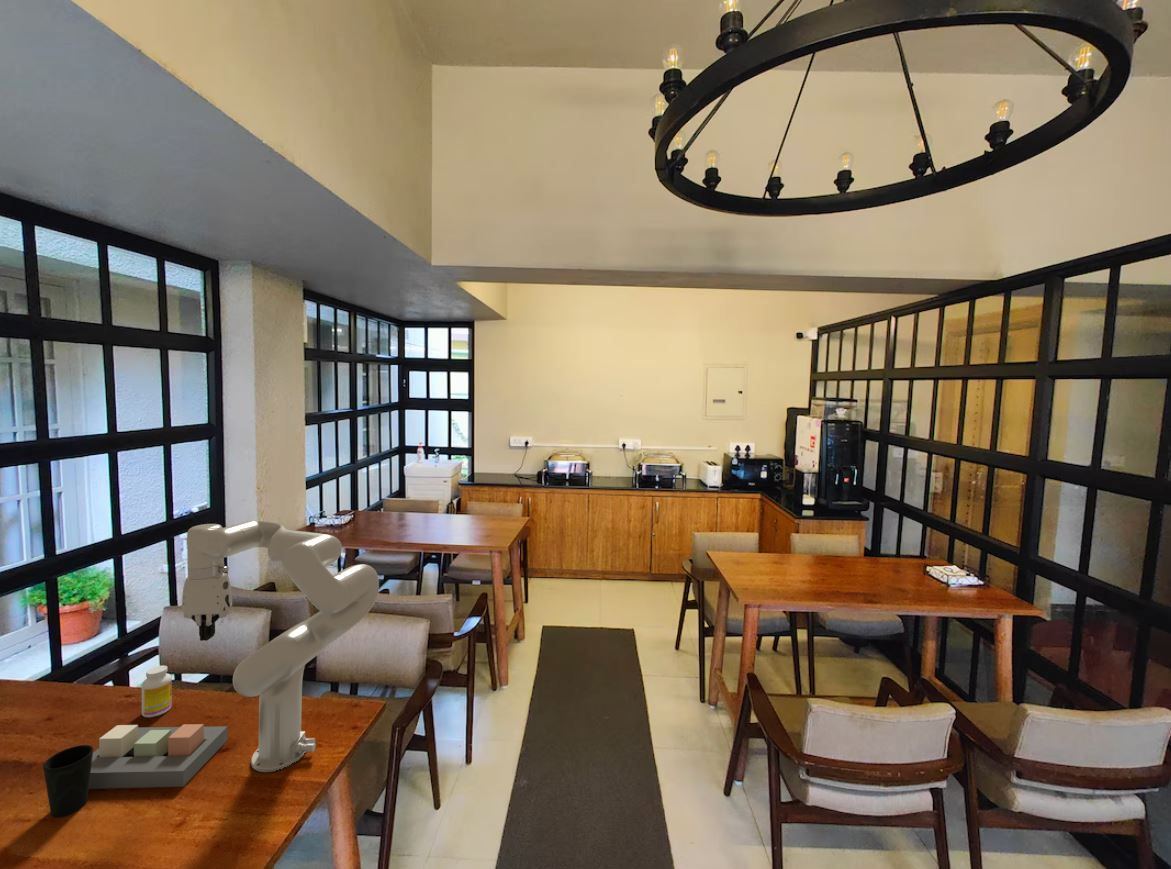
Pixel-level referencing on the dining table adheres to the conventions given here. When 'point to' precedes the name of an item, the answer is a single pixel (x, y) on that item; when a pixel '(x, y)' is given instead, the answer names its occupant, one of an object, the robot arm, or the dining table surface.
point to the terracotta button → (186, 740)
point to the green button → (152, 744)
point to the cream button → (118, 741)
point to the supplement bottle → (156, 692)
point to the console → (154, 764)
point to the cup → (68, 779)
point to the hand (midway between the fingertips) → (207, 638)
